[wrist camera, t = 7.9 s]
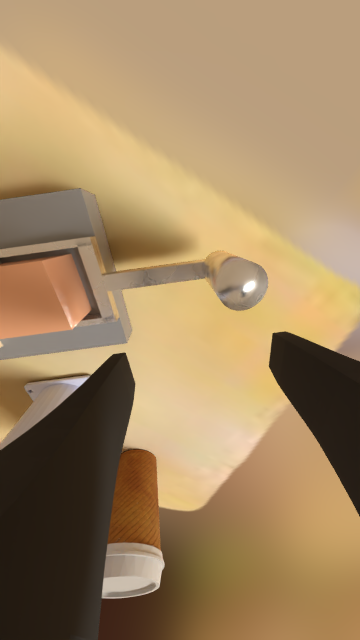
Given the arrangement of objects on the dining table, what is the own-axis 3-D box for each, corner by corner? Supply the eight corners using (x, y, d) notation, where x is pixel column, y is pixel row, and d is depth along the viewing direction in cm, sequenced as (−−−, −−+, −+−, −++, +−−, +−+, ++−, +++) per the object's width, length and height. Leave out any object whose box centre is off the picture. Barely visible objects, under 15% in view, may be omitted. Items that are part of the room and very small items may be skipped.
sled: (230, 217, 13) (274, 208, 7) (230, 301, 16) (263, 339, 10) (-19, 252, 13) (-153, 267, 8) (25, 329, 16) (-50, 380, 10)
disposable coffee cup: (95, 462, 30) (53, 593, 19) (132, 434, 27) (108, 569, 16) (140, 481, 33) (126, 602, 22) (178, 458, 30) (182, 582, 20)
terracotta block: (71, 253, 14) (41, 260, 10) (91, 309, 16) (72, 329, 12) (4, 262, 14) (-45, 272, 10) (33, 317, 16) (-1, 339, 12)
